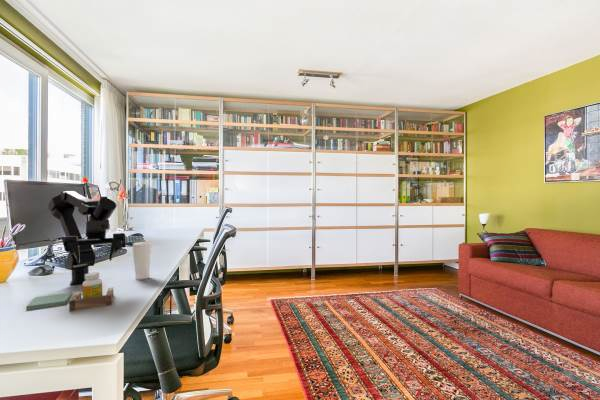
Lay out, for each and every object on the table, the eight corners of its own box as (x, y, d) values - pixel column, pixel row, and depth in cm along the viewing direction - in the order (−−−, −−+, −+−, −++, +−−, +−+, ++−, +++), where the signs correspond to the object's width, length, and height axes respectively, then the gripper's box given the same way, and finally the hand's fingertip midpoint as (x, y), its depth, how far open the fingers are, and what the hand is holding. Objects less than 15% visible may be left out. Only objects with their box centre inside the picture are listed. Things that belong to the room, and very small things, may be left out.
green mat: (35, 300, 107) (35, 297, 107) (71, 295, 112) (71, 292, 112) (26, 310, 98) (26, 306, 98) (65, 304, 103) (65, 300, 103)
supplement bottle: (92, 306, 100) (92, 276, 100) (78, 305, 101) (77, 275, 101) (106, 300, 106) (105, 272, 105) (92, 300, 107) (92, 271, 107)
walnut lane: (75, 301, 106) (75, 292, 106) (113, 295, 111) (113, 287, 111) (69, 311, 97) (69, 301, 97) (111, 305, 102) (110, 295, 102)
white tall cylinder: (137, 276, 137) (136, 242, 137) (153, 275, 137) (152, 241, 137) (130, 280, 130) (129, 244, 130) (147, 280, 131) (146, 244, 130)
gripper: (63, 213, 109) (56, 250, 100) (124, 211, 118) (124, 244, 108) (68, 233, 117) (62, 269, 107) (125, 230, 125) (125, 263, 115)
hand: (94, 261), depth 109 cm, fingers open, 9 cm apart
